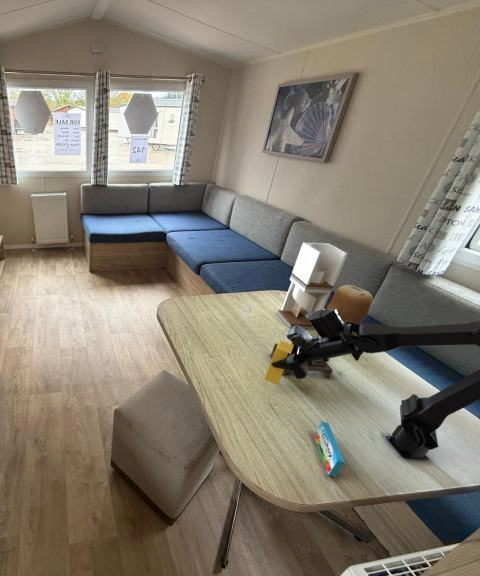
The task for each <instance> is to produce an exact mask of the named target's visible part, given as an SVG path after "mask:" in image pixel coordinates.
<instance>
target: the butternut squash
mask: <svg viewBox="0 0 480 576" xmlns="http://www.w3.org/2000/svg"><path fill="white" fill-rule="evenodd" d="M372 304H373V296H372V294H371V293H370V291H368V290H366V289H363V288H360V287H358V286H356V285H353V284H344V285H341V286H340V287H338V288H337V289H336V291H334V294H333V296H332V298H331V300H330V301H329V303H328V305H327V306H326V309H329V310H332V309H336V311H337V312H338V315H339V317H340V318H341V320H342V321H343V323H344V321H347V322H352V323H357V324H362V322H363V321H364V320H365V318H367V316H368V314H369V312H370V309H371V306H372ZM352 334H353V335H355V332H353V331H352ZM317 336H319V334H318V333H317ZM320 338H321V339H322V338H323V337H322V336H320Z"/></svg>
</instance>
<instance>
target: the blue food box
mask: <svg viewBox="0 0 480 576" xmlns="http://www.w3.org/2000/svg"><path fill="white" fill-rule="evenodd" d="M313 438H314V440H315V443H316V446H317V449H318V452H319V455H320V457H321V461H322V464H323V466H324V469H325V471H326V474H327V476H330V477H333V478H336V477H337V476H338V474H339V472H340V471H341V470H342V468H343V466H344V465H345V459H344V457H343V454H342V453H341V450H340V448H339V445H338V442H337V440H336V438H335V435H334V433H333V431H332V428H331V425H330V423H329V422H327V421H322V420H321V421H320V423H319V425H318V426H317V428H316V430H315V432H314V433H313Z"/></svg>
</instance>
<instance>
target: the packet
mask: <svg viewBox="0 0 480 576" xmlns="http://www.w3.org/2000/svg"><path fill="white" fill-rule="evenodd" d="M277 344H278V345H277V347H276V350H275V352H274V355H273V358H271V360H270V363H269V365H268V369H267V371H266V374H265V376H264V381H267V382H269V383H271V384H273V385H276V386H278V385H279V384H280V380H281V378H282V377H283V375H282V374H283V371H284V369H280V368H276V367H273V366H272V365H271V364H272V363H274V362H276V361H279V360H281V359H284V358H286V357H287V354H288V353H289V354H291V352H292V349H293V347H294V345H293V344H292V343H290V342H287V341H285V340H281V339H280V340H278V342H277Z"/></svg>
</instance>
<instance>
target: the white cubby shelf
mask: <svg viewBox="0 0 480 576" xmlns="http://www.w3.org/2000/svg"><path fill="white" fill-rule="evenodd" d="M348 255H349V253H348V252H346V251H345V250H342V249H340V248H339V247H336V246H334V245H333V244H331V243H328V242H327V243H326V242H304V241H303V242H302V245H301V246H300V250H299V253H298V256H297V258H296V261H295V264H294V266H293V269H292V272H291V275H290V278H289V281H290V285H289V287H288V290H287V292H286V295H285V299H284V301H283V303H282V304H283V305H282V306H281V309H278V311H277V315H278V316H279V317H280V318H281V320H282V321H283V323H285V324H286V326H288V327H289V328H290V329H291V328H293V327H294V326H295V325H299V326H300V327H301V328H303V329H304V330H306V329H307V330H315V328H314V327H313V325H312V324H311V322H310V321H309V319H308V317H309V315H311V314H312V313H314V312H316V311H319V310H325V308H326V305H327V302H328V300H329V297H330V296H331V293H332V291H333V288H334V287H335V284H336V282H337V280H338V278H339V275H340V273H341V271H342V268H343V266H344V263H346V262H345V261H346V259H347V258H348Z"/></svg>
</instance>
